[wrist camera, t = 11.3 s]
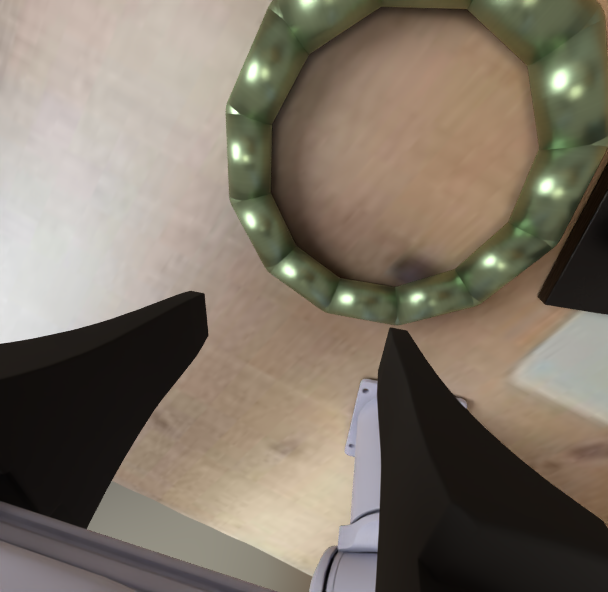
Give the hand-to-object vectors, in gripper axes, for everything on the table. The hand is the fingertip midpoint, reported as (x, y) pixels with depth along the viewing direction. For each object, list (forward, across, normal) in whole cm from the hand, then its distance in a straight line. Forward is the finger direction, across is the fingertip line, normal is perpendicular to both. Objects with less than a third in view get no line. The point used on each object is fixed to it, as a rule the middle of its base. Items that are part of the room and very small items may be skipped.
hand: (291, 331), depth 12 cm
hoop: (+8, -3, -5) cm, 10 cm away
